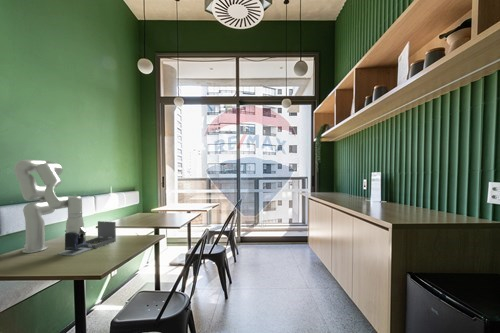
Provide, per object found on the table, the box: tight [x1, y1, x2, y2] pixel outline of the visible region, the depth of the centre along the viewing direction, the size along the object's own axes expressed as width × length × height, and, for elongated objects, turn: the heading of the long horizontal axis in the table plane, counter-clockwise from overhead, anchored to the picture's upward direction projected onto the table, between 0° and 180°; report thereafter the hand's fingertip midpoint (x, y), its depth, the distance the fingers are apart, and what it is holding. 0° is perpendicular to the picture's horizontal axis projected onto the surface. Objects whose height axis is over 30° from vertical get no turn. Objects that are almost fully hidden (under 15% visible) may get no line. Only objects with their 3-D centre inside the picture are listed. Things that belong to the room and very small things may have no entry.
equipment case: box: [83, 220, 117, 249], centre depth 173 cm, size 15×18×14 cm
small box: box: [64, 232, 87, 251], centre depth 158 cm, size 11×6×10 cm, turn 179°
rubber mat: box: [57, 247, 94, 257], centre depth 158 cm, size 13×13×1 cm
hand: (75, 243), depth 158 cm, fingers closed on small box, 7 cm apart
